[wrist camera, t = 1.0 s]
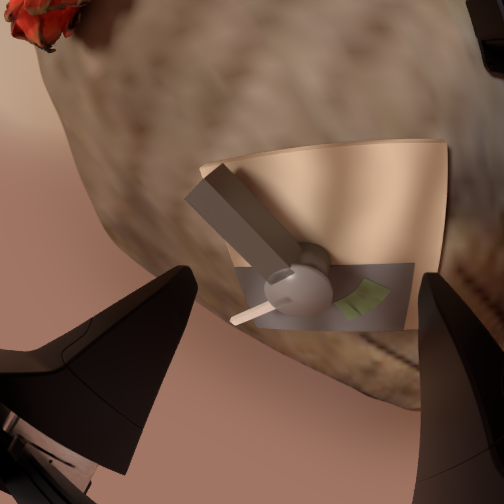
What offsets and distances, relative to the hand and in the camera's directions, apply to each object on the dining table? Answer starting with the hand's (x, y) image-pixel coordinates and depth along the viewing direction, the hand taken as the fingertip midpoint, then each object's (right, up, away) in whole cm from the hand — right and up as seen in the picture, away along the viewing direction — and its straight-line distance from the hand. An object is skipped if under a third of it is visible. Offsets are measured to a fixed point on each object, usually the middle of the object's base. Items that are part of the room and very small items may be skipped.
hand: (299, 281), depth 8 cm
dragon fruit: (-16, +23, +3) cm, 28 cm away
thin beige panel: (+5, +1, +12) cm, 13 cm away
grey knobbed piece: (-1, +1, +12) cm, 12 cm away
